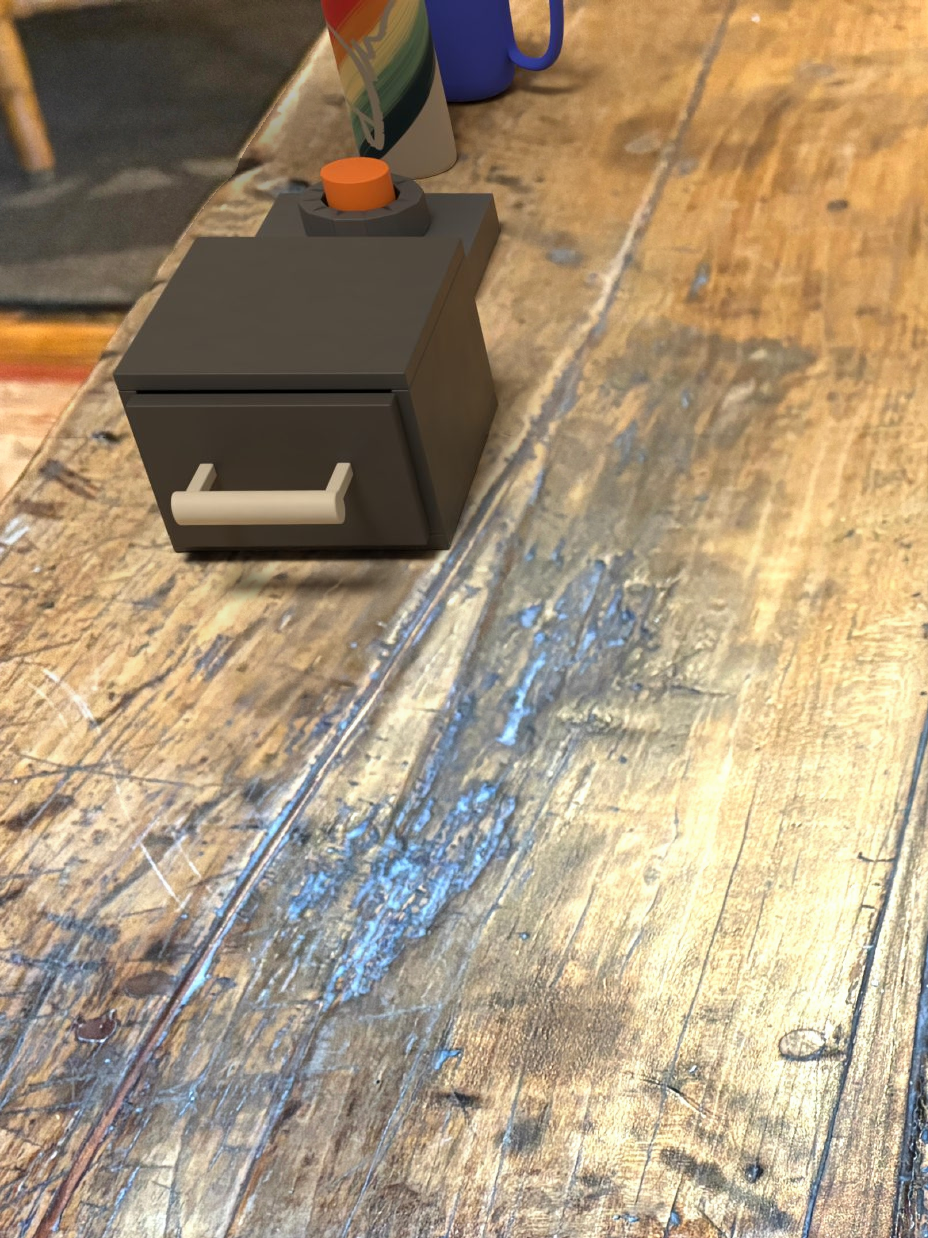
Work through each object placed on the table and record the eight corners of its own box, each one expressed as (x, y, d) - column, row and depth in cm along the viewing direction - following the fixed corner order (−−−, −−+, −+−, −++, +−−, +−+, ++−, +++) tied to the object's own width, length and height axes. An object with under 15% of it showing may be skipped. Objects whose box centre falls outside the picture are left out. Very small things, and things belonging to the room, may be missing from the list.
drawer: (409, 593, 100) (371, 450, 95) (149, 595, 99) (97, 452, 94) (475, 409, 112) (444, 274, 107) (244, 410, 111) (202, 274, 107)
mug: (556, 123, 141) (524, -52, 133) (377, 105, 142) (335, -69, 135) (605, 77, 146) (577, -93, 139) (431, 60, 147) (395, -110, 140)
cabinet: (448, 549, 104) (404, 372, 98) (173, 552, 104) (111, 373, 97) (498, 405, 114) (461, 236, 108) (248, 406, 114) (196, 236, 107)
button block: (248, 306, 122) (226, 232, 119) (290, 231, 128) (270, 159, 126) (472, 306, 122) (455, 232, 119) (501, 231, 129) (486, 160, 126)
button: (322, 215, 121) (313, 182, 120) (336, 189, 124) (327, 156, 123) (389, 215, 122) (381, 182, 120) (401, 189, 124) (394, 157, 123)
